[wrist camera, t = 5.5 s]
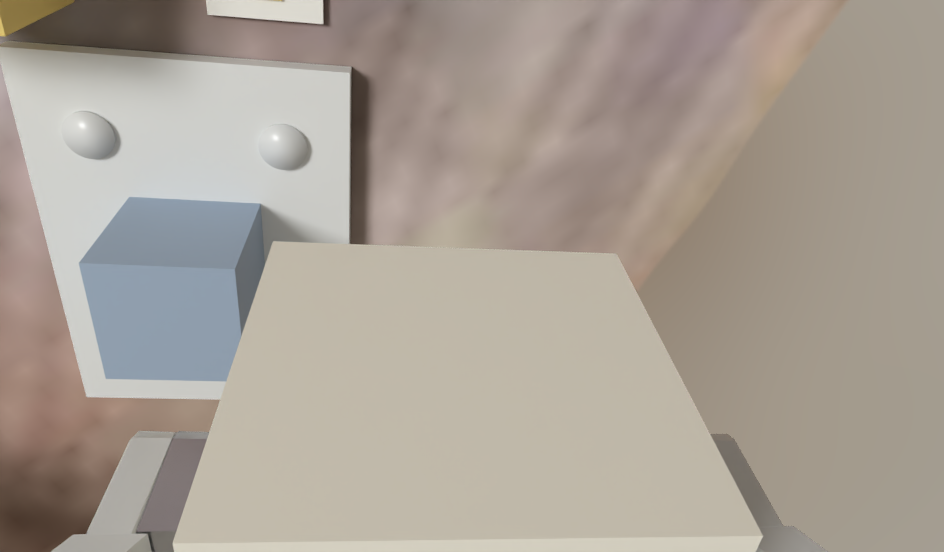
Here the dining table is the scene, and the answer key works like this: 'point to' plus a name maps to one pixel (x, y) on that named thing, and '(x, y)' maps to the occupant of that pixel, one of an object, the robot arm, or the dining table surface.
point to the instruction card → (270, 9)
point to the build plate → (174, 157)
